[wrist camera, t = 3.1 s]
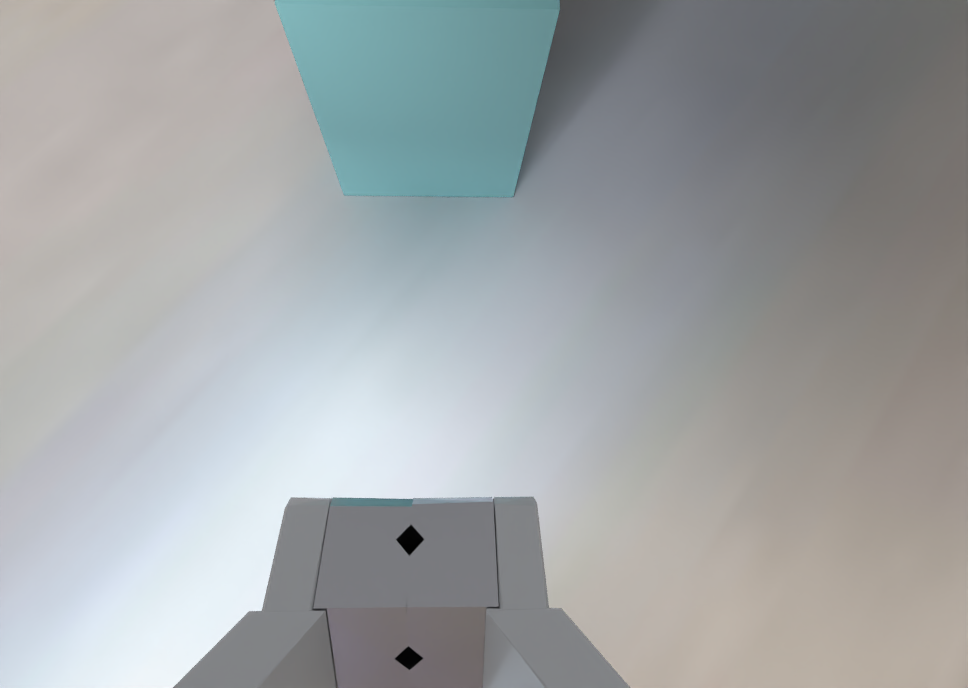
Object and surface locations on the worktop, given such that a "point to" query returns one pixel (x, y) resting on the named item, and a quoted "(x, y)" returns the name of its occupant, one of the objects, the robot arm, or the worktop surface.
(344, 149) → the domino
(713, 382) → the worktop surface
